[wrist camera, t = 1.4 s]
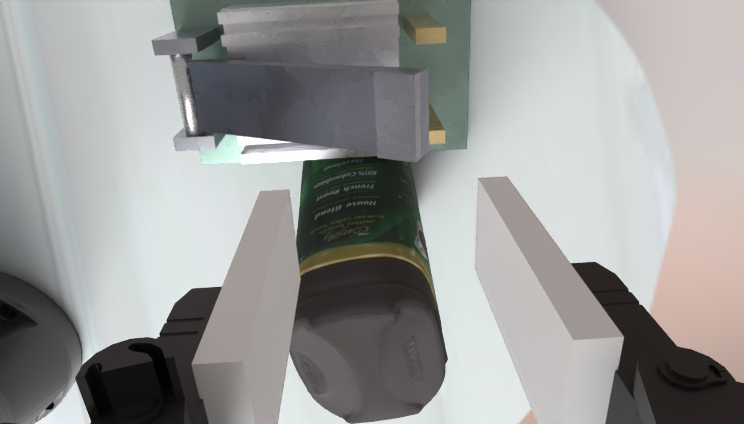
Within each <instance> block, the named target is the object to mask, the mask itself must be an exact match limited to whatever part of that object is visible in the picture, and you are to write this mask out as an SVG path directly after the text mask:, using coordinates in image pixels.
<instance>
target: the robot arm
mask: <svg viewBox="0 0 744 424" xmlns="http://www.w3.org/2000/svg"><path fill="white" fill-rule="evenodd" d="M475 270H476V273H477V275H478V277H479V280H480V282H481V285H482V287H483V290H484V292H485V295H486V297H487V300H488V302H489V305H490V307H491V310H492V312H493V315H494V317H495V320H496V322H497V324H498V327H499V329H500V332H501V334H502V337H503V339H504V342H505V344H506V347H507V349H508V352H509V354H510V357H511V359H512V362H513V364H514V366H515V369H516V371H517V374H518V376H519V379H520V381H521V384H522V386H523V389H524V391H525V394H526V396H527V399H528V401H529V404H530V406H531V408H532V411H533V413H534V416H535V418H536V421H537V423H538V424H744V383H740V382H736V381H735V379H734V378H733V377H732V375H731V374H730V373H729V372H728V371H727V370H726V368H725V367H723V366H722V365H721V364H719V363H718V362H716V361H715V360H713V359H712V358H710V357H709V356H706V355H704V354H701V353H699V352H696V351H694V350H691V349H686V348H681V347H677V346H676V345H675V343H674V342H673V341H672V340H671V339H670V338H669V336H668V335H667V334H666V333H665V332H664V331H663V329H662V328H661V327H660V326H659V325H658V323H657V322H656V321H655V320H654V319H653V317H651V315H650V314H649V313H648V312H647V310H646V309H645V308H644V307H643V306H642V305H639V301H638V300H637V299H636V297H635V296H634V295H633V294H632V293H631V292H629V291H628V288H627V287H626V286H625V285H624V283H623V282H622V281H621V280H620V279H619V277H618V276H617V275H616V274H615V273H613V272H611V271H610V270H608V269H606V268H604V267H603V266H601V265H599V264H598V263H596V262H586V263H570V262H569V261H568V259H567V258H566V257H565V255H564V254H563V252H562V251H561V250H560V248H559V247H558V246H557V244H556V243H555V242H554V240H553V239H552V237H551V236H550V235H549V233H548V232H547V231H546V229H545V228H544V226H543V225H542V224H541V222H540V221H539V220H538V218H537V217H536V215H535V214H534V213H533V211H532V210H531V209H530V207H529V206H528V204H527V203H526V202H525V200H524V199H523V198H522V196H521V195H520V194H519V192H518V191H517V189H516V188H515V187H514V185H513V184H512V183H511V181H510V180H509V178H508V177H491V178H478V195H477V222H476V249H475ZM300 280H301V279H300V271H299V263H298V255H297V247H296V239H295V231H294V223H293V215H292V207H291V199H290V191H289V190H275V191H260V193H259V195H258V198H257V200H256V203H255V205H254V208H253V210H252V213H251V215H250V218H249V220H248V223H247V226H246V228H245V231H244V233H243V236H242V238H241V241H240V243H239V246H238V248H237V251H236V253H235V256H234V258H233V261H232V263H231V266H230V268H229V271H228V273H227V276H226V278H225V281H224V283H223V286H222V287H211V288H195V289H191V290H190V291H189V292H188V293H187V294H185V295H184V296H183V297H182V298H181V299H180V300H179V301H177V302H176V303H175V305H174V307H173V309H172V310H171V312H170V314H169V316H168V318H167V323H165V324H164V326H163V328H162V330H161V332H160V337H158V338H157V339H154V338H149V337H145V338H135V339H129V340H126V341H122V342H119V343H116V344H113V345H111V346H109V347H107V348H105V349H103V350H102V351H100V352H98V353H96V354H95V355H94V356H92V357H91V358H90V359H89V360H88V361H87V362H86V363H84V364H83V365H82V367H81V359H82V355H81V347H80V342H79V339H78V336H77V334H76V331H75V329H74V327H73V326H72V324H71V322H70V321H69V319H68V318H67V317H66V315H65V314H64V313H63V312H62V310H61V309H60V308H59V307H58V306H57V305H56V304H55V303H54V302H53V301H51V300H50V299H49V298H48V297H47V296H45V295H44V294H43V293H41V292H40V291H38V290H37V289H35V288H34V287H32V286H30V285H29V284H27V283H25V282H23V281H21V280H19V279H17V278H14V277H12V276H9V275H7V274H4V273H1V272H0V424H35V423H36V422H37V421H39V420H41V419H42V418H44V417H45V416H46V415H48V414H49V413H50V412H51V411H53V410H54V409H55V408H56V407H57V406H58V405H59V403H60V402H61V401H62V400H63V398H64V397H65V395H66V394H67V392H68V391H69V389H70V388H71V386H72V385H73V383H74V382H75V380H76V382H77V385H78V387H79V390H80V393H81V395H82V398H83V401H84V403H85V406H86V409H87V411H88V414H89V417H90V419H91V423H90V424H278V418H279V412H280V405H281V399H282V393H283V387H284V380H285V374H286V368H287V361H288V355H289V349H290V343H291V336H292V330H293V324H294V317H295V311H296V305H297V298H298V292H299V286H300ZM80 367H81V368H80Z"/></svg>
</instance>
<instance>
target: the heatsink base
mask: <svg viewBox="0 0 744 424" xmlns="http://www.w3.org/2000/svg"><path fill="white" fill-rule="evenodd" d="M170 5H171V10H172V15H173V20H174V25H175V30H176V31H174V32H172V33H169V34H167V35H164V36H162V37H159V38H157V39H154V40H152V44H153V49H154V53H155V55H170V60H171V65H172V70H173V75H174V79H175V84H176V89H177V94H178V99H179V104H180V109H181V113H182V118H183V123H184V128H183V129H182V130H181V131H180V132H179V133H178V134H177V135H176V136H175V137H174V138H173V141H174V146H175V150H176V151H187V150H199V151H200V157H201V162H202V164H219V163H236V162H241V163H242V164H250V163H267V162H284V161H301V160H317V159H334V158H351V157H368V156H377V153H372V152H364V151H356V150H348V149H340V148H332V147H324V146H316V145H308V144H300V143H292V142H284V141H276V140H268V139H260V138H252V137H244V136H236V135H228V134H220V133H212V132H204V131H201V127H200V122H199V117H198V112H197V106H196V101H195V96H194V91H193V86H192V80H191V75H190V70H189V65H188V61H192V60H197V59H224V60H247V61H271V62H294V63H317V64H341V65H364V66H387V67H410V68H429V151H437V150H454V149H467V120H468V82H469V44H470V6H471V0H170Z"/></svg>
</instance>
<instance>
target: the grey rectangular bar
mask: <svg viewBox="0 0 744 424" xmlns="http://www.w3.org/2000/svg"><path fill="white" fill-rule="evenodd" d="M188 65H189V70H190V75H191V80H192V86H193V91H194V96H195V101H196V106H197V112H198V117H199V122H200V127H201V131H204V132H212V133H220V134H228V135H236V136H244V137H252V138H260V139H268V140H276V141H284V142H292V143H300V144H308V145H316V146H324V147H332V148H340V149H348V150H356V151H364V152H372V153H377V157H378V158H383V159H391V160H399V161H407V162H415V163H416V162H417V161H419V160H420V159H421V158H422V157H424V156H425V155H426V154H427V153H428V152H429V68H410V67H387V66H364V65H341V64H317V63H294V62H271V61H247V60H224V59H197V60H192V61H188Z"/></svg>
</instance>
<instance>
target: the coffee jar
mask: <svg viewBox="0 0 744 424" xmlns="http://www.w3.org/2000/svg"><path fill="white" fill-rule="evenodd" d="M296 247H297V255H298V263H299V271H300V279H301V280H300V286H299V292H298V298H297V305H296V311H295V317H294V324H293V330H292V336H291V343H290V349H289V352H290V355H291V358H292V360H293V363H294V365H295V368H296V370H297V372H298V374H299V376H300V378H301V379H302V381H303V383H304V385H305V386H306V388H307V390H308V392H309V393H310V394H311V396H312V397H313V399H314V400H315V401H316V402H317V403H319V404H320V405H321V406H322V407H324V408H325V409H326V410H328V411H330V412H331V413H333V414H335V415H337V416H339V417H341V418H343V419H344V420H345V421H346V422H348V423H350V424H354V423H364V422H374V421H380V420H387V419H394V418H399V417H405V416H409V415H414V414H418V413H419V412H420V411H421V410H422V409H423V407H424V406H425V405H426V404H428V403H429V402H430V401H431V399H432V398H433V397H434V396H435V395H436V394H437V392H438V391H439V389H440V387H441V385H442V383H443V381H444V377H445V364H446V362H447V360H448V358H447V353H446V349H445V343H444V338H443V334H442V327H441V320H440V315H439V311H438V305H437V301H436V295H435V290H434V285H433V280H432V275H431V270H430V264H429V259H428V253H427V247H426V243H425V238H424V233H423V228H422V223H421V217H420V213H419V207H418V201H417V194H416V189H415V184H414V179H413V174H412V170H411V166H410V162H407V161H399V160H391V159H383V158H378V157H377V156H368V157H351V158H334V159H317V160H304V162H303V171H302V182H301V197H300V208H299V219H298V229H297V237H296Z"/></svg>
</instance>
